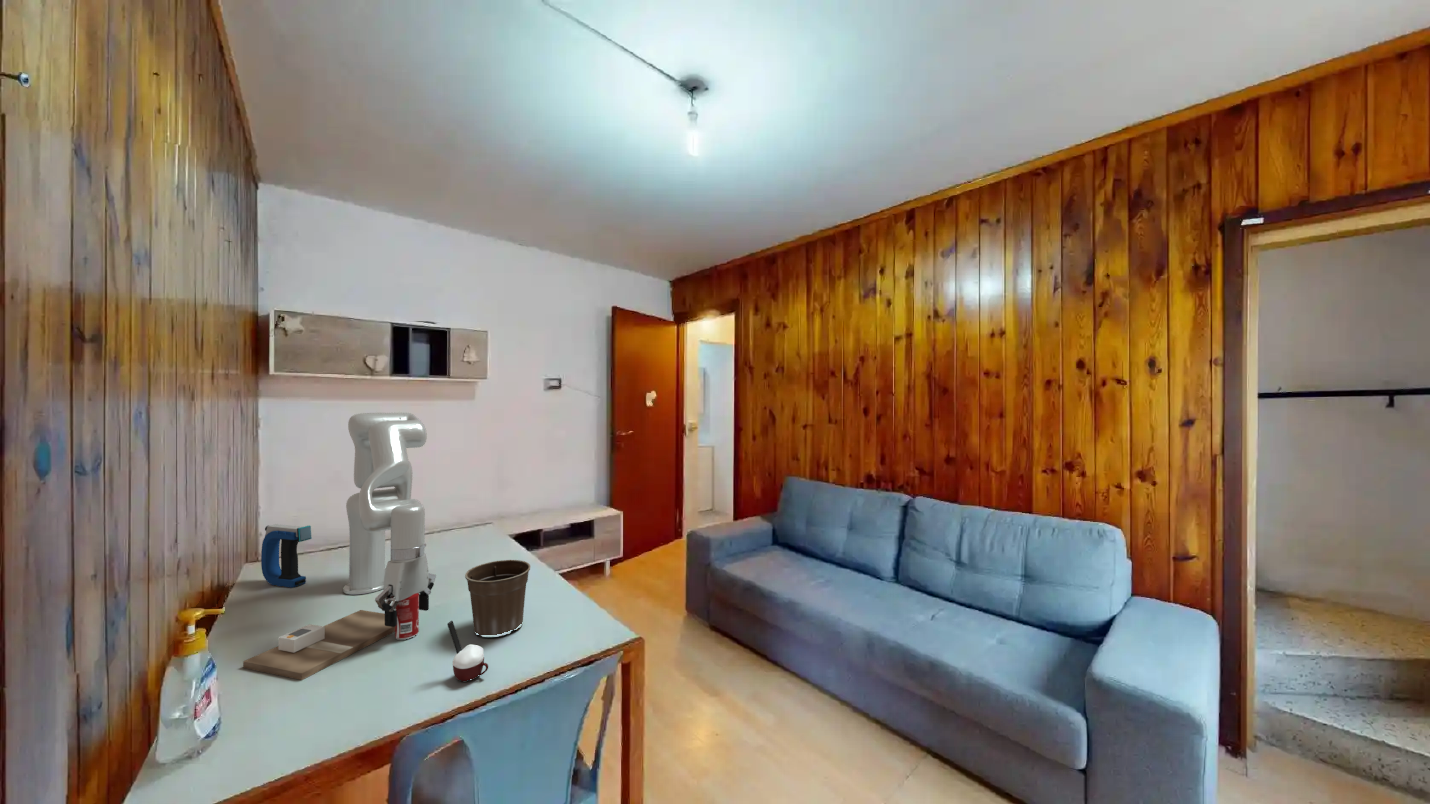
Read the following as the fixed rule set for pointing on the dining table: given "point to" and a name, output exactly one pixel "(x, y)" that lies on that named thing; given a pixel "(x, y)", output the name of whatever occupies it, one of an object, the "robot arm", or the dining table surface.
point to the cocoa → (466, 658)
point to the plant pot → (497, 595)
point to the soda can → (407, 618)
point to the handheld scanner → (283, 554)
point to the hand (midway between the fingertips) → (407, 617)
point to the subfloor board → (324, 647)
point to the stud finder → (301, 638)
